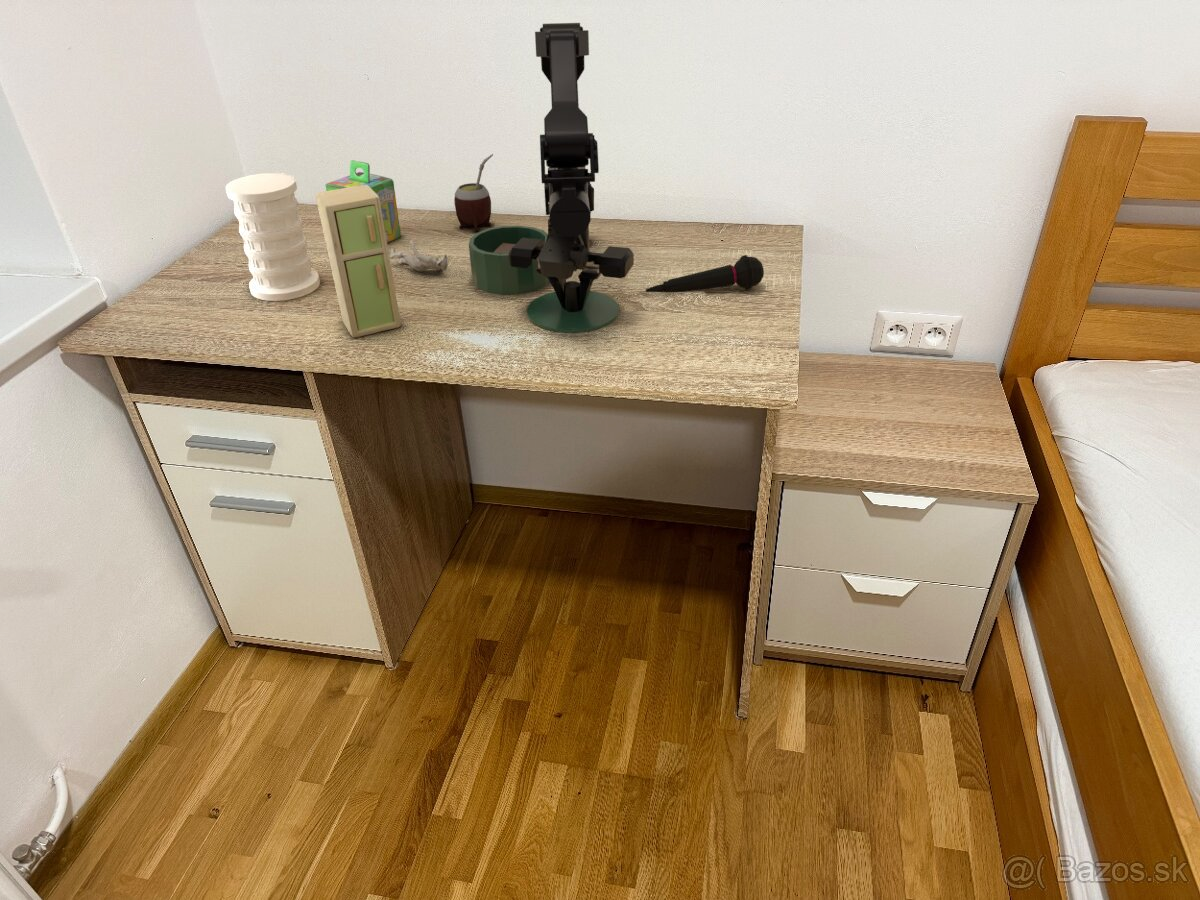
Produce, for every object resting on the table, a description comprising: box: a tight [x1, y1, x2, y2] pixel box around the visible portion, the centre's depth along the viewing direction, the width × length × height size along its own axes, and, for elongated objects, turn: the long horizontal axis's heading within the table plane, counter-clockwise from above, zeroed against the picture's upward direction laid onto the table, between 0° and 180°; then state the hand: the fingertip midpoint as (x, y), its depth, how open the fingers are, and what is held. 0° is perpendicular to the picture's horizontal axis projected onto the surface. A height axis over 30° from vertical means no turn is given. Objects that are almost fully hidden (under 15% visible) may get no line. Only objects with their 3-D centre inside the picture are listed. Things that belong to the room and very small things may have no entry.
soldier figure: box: [389, 240, 449, 273], centre depth 153 cm, size 8×5×12 cm
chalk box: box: [325, 160, 402, 244], centre depth 163 cm, size 9×9×15 cm
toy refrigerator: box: [315, 185, 402, 339], centre depth 131 cm, size 8×7×21 cm
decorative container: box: [225, 172, 321, 302], centre depth 145 cm, size 12×12×18 cm
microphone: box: [645, 254, 765, 293], centre depth 145 cm, size 6×6×20 cm
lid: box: [526, 280, 620, 334], centre depth 137 cm, size 15×15×5 cm
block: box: [493, 243, 515, 254], centre depth 148 cm, size 5×5×5 cm
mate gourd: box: [453, 153, 494, 234], centre depth 168 cm, size 8×8×15 cm
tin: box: [468, 225, 550, 296], centre depth 148 cm, size 14×14×8 cm
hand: (572, 308), depth 138 cm, fingers closed on lid, 3 cm apart
